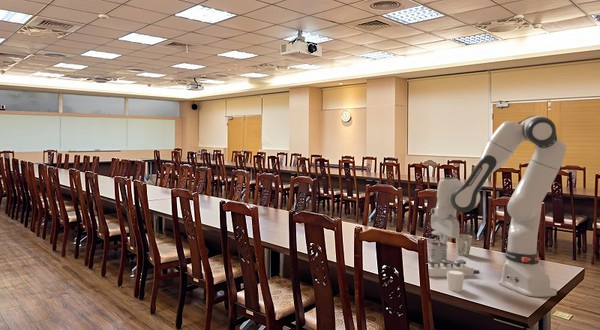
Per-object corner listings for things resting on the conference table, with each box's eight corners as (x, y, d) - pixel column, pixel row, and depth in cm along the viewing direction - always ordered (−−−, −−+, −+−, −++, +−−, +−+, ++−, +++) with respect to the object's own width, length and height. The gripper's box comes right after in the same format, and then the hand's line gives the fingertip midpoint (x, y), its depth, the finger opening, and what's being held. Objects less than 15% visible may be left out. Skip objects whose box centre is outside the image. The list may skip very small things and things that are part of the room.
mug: (468, 252, 238) (469, 234, 237) (475, 259, 225) (476, 240, 225) (452, 252, 239) (453, 233, 238) (458, 258, 226) (460, 239, 226)
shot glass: (449, 285, 183) (450, 268, 183) (466, 289, 179) (467, 272, 179) (443, 289, 178) (444, 272, 178) (460, 293, 174) (461, 276, 173)
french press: (428, 261, 218) (430, 211, 217) (428, 255, 229) (430, 208, 228) (448, 263, 215) (451, 213, 214) (448, 257, 226) (450, 209, 225)
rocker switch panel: (483, 275, 198) (484, 264, 198) (427, 276, 194) (427, 265, 193) (473, 270, 206) (474, 259, 206) (419, 271, 202) (420, 260, 201)
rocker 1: (439, 266, 197) (440, 263, 197) (430, 264, 196) (431, 261, 196) (436, 264, 200) (437, 261, 200) (427, 262, 199) (428, 259, 199)
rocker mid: (452, 266, 198) (453, 263, 198) (443, 264, 197) (444, 261, 197) (449, 264, 201) (449, 261, 201) (440, 262, 200) (440, 259, 200)
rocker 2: (466, 264, 199) (465, 261, 199) (456, 266, 198) (456, 263, 198) (462, 262, 202) (461, 259, 202) (453, 264, 201) (452, 261, 201)
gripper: (464, 217, 188) (462, 249, 189) (441, 209, 208) (439, 237, 209) (450, 217, 187) (448, 249, 188) (429, 208, 207) (427, 237, 208)
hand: (443, 243), depth 199 cm, fingers closed
